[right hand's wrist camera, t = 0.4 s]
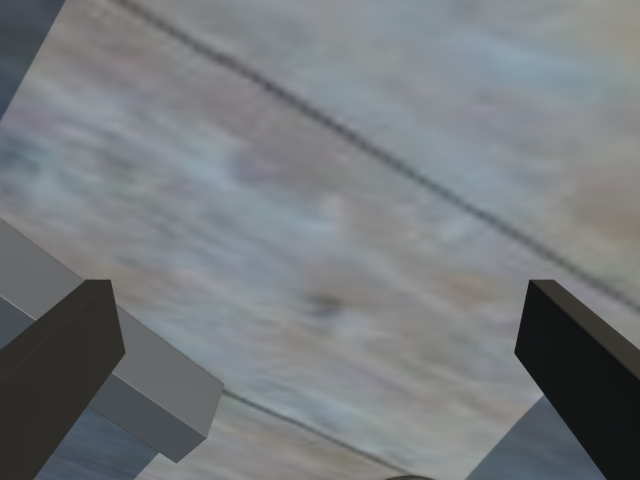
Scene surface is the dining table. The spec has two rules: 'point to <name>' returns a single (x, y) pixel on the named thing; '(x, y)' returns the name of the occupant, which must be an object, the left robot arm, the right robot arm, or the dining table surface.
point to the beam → (133, 369)
